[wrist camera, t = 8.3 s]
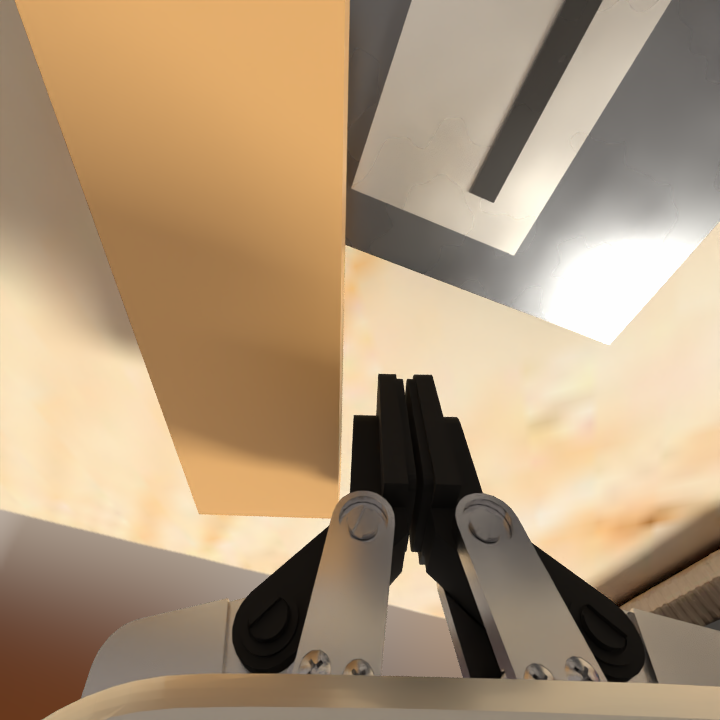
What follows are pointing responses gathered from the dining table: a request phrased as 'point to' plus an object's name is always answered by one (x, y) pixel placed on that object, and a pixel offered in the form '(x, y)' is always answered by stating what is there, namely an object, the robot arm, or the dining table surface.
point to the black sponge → (686, 595)
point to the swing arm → (219, 222)
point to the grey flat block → (536, 147)
